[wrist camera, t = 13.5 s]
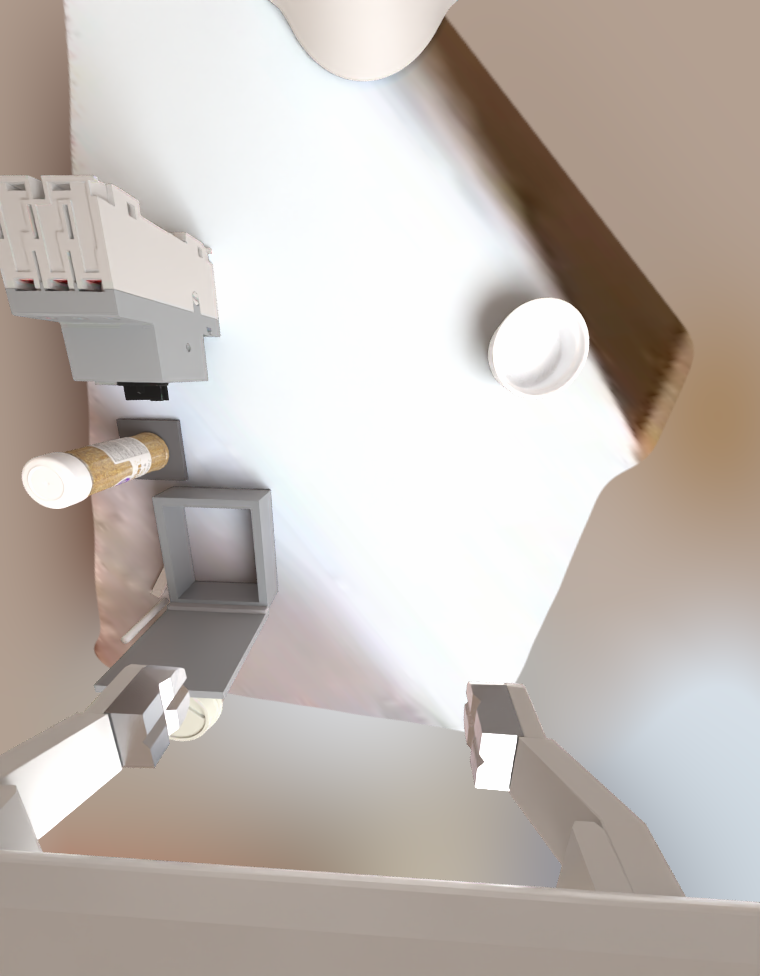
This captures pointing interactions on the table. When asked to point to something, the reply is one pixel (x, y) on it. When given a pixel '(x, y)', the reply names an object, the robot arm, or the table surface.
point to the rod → (160, 585)
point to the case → (204, 597)
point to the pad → (172, 439)
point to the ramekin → (539, 348)
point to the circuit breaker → (107, 282)
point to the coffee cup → (198, 718)
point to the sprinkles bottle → (91, 469)
